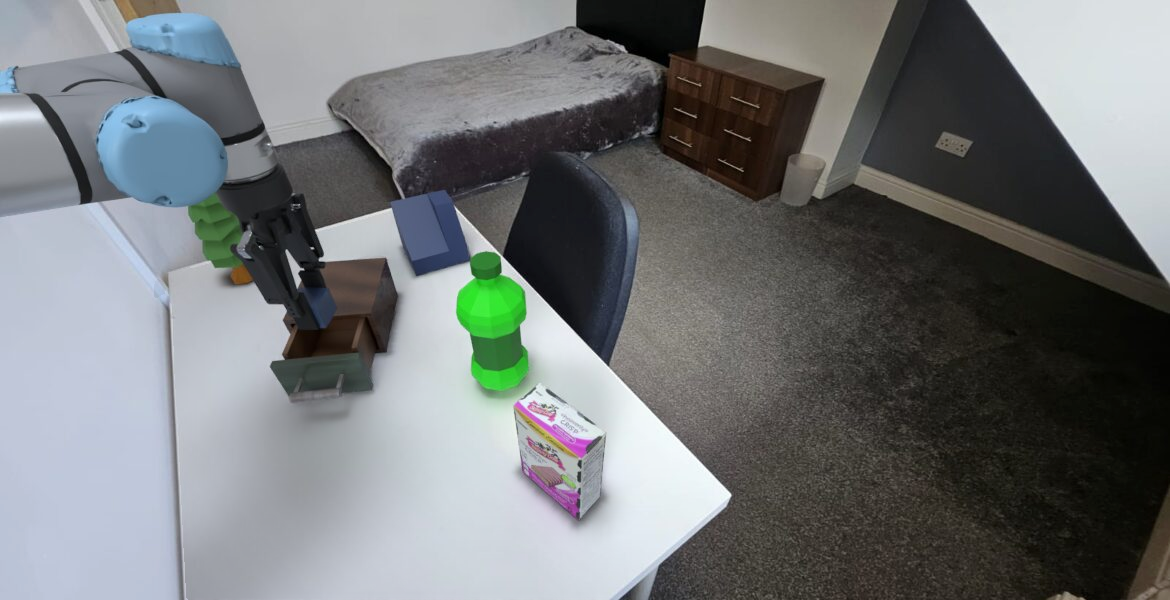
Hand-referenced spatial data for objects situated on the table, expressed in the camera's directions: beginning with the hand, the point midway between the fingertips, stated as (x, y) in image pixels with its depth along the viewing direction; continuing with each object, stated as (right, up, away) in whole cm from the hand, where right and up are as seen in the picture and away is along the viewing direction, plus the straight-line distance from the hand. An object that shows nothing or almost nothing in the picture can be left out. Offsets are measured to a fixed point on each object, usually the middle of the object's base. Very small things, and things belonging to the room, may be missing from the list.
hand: (317, 316), depth 70 cm
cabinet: (-4, -2, +20) cm, 20 cm away
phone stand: (+6, +13, +38) cm, 40 cm away
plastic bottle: (+26, -11, +11) cm, 30 cm away
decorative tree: (-33, +8, +30) cm, 45 cm away
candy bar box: (+36, -24, -3) cm, 44 cm away
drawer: (-2, -10, +10) cm, 14 cm away
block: (0, 0, 0) cm, 0 cm away
